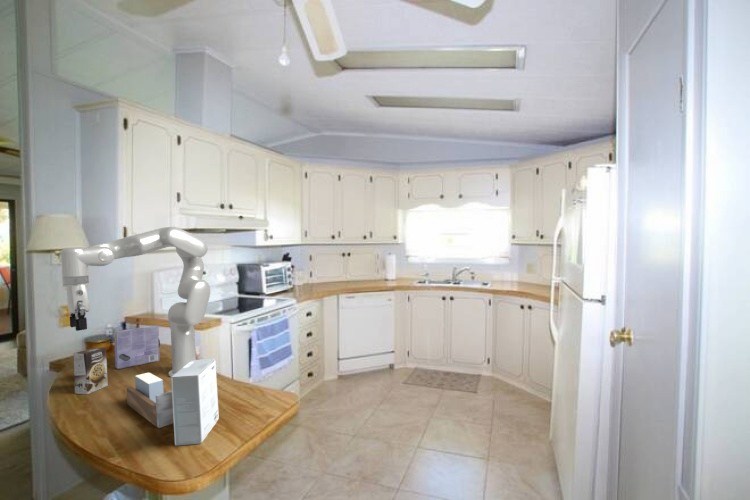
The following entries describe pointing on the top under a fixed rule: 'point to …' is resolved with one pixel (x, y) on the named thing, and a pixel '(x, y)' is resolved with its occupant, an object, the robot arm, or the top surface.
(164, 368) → the top surface
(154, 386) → the boxed book
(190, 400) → the hard drive box
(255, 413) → the top surface
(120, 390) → the top surface
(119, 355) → the cake pan box
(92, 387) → the coffee box
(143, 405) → the book rack
